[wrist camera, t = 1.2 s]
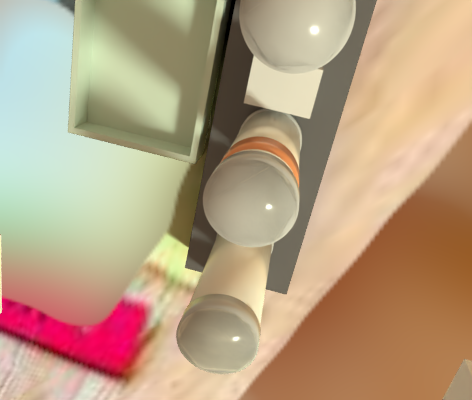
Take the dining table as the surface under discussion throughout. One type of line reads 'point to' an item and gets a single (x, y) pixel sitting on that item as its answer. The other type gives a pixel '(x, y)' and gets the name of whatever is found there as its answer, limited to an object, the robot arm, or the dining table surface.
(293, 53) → the fuse near
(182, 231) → the dining table surface
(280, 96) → the block
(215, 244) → the cylinder
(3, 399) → the dining table surface
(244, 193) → the marked fuse
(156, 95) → the tray
